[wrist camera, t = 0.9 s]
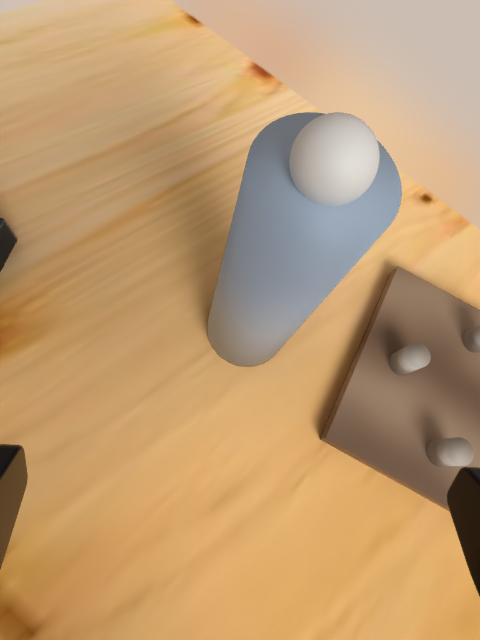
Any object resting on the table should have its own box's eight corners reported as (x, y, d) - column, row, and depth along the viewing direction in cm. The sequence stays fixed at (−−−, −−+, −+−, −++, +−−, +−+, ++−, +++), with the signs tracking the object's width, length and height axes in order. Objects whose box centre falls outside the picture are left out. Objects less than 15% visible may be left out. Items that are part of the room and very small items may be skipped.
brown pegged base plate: (512, 546, 23) (558, 556, 21) (319, 438, 24) (339, 434, 21) (553, 361, 28) (596, 348, 25) (390, 273, 28) (414, 251, 25)
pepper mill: (298, 341, 25) (472, 161, 11) (235, 381, 24) (337, 240, 9) (254, 280, 26) (361, 38, 12) (191, 316, 25) (222, 93, 10)
